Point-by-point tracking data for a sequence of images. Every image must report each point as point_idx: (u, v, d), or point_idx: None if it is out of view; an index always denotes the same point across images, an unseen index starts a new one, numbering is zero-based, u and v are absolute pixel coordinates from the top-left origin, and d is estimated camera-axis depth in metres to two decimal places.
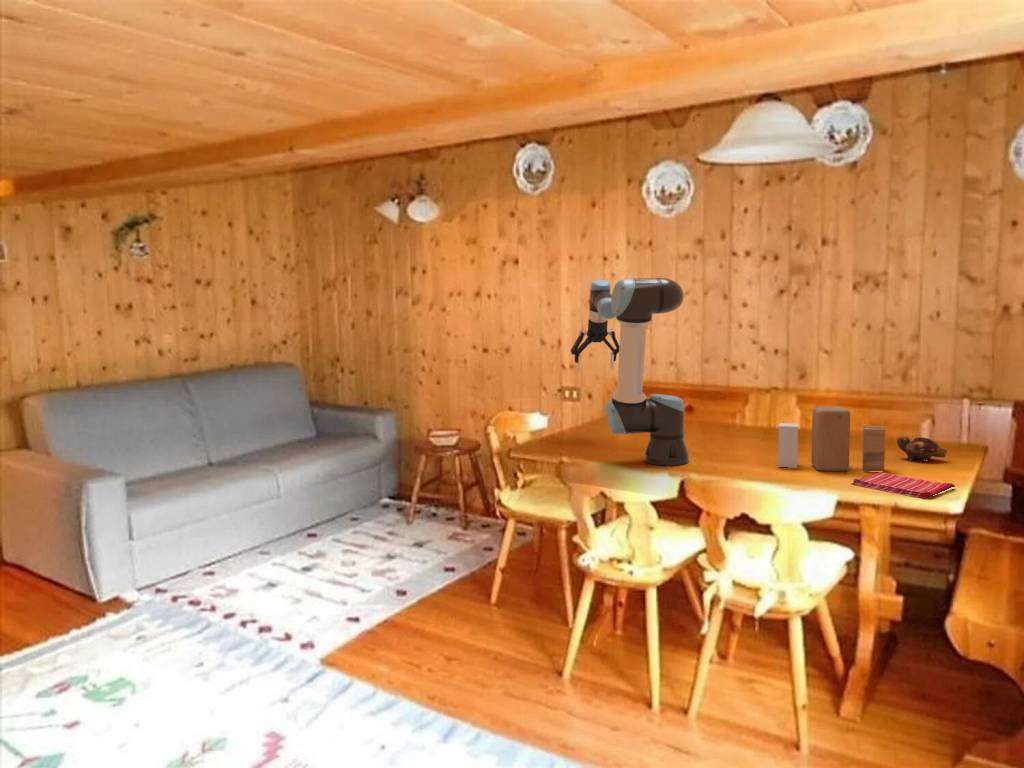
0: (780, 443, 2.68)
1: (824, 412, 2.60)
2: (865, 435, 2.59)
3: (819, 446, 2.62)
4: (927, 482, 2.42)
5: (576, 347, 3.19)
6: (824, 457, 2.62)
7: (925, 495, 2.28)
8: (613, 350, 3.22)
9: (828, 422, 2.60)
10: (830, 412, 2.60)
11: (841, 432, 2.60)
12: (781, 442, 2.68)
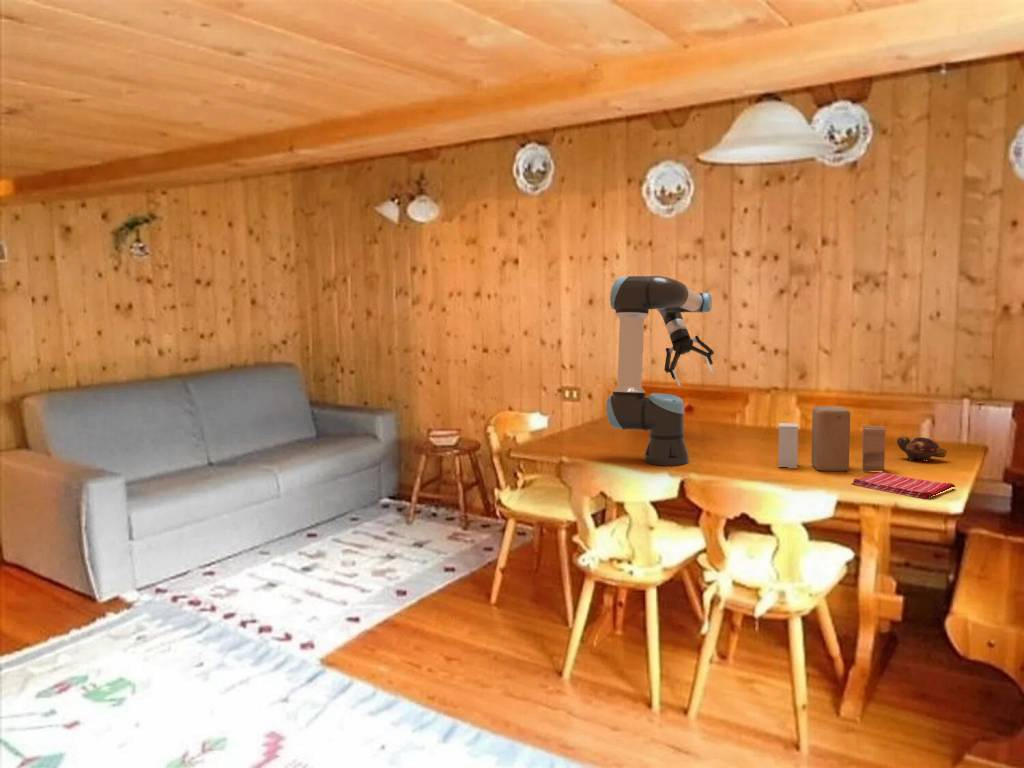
0: (780, 443, 2.68)
1: (824, 412, 2.60)
2: (865, 435, 2.59)
3: (819, 446, 2.62)
4: (927, 482, 2.42)
5: (666, 363, 3.24)
6: (824, 457, 2.62)
7: (925, 495, 2.28)
8: (704, 352, 3.18)
9: (828, 422, 2.60)
10: (830, 412, 2.60)
11: (841, 432, 2.60)
12: (781, 442, 2.68)
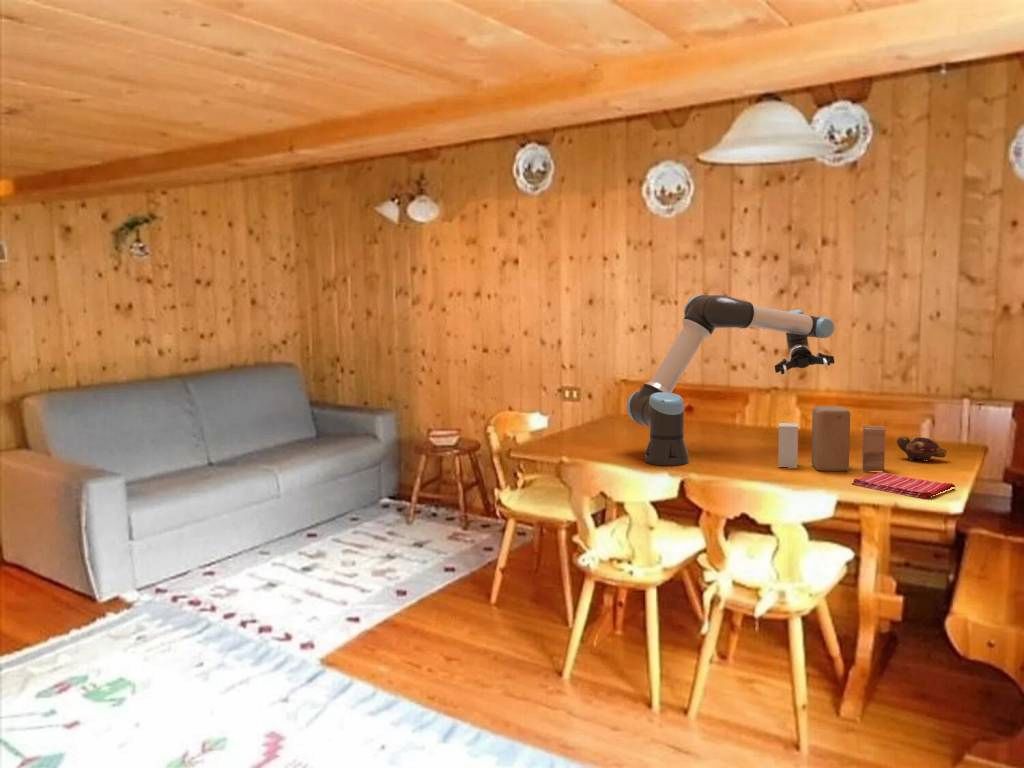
0: (780, 443, 2.68)
1: (824, 412, 2.60)
2: (865, 435, 2.59)
3: (819, 446, 2.62)
4: (927, 482, 2.42)
5: (779, 363, 2.95)
6: (824, 457, 2.62)
7: (925, 495, 2.28)
8: (823, 357, 2.89)
9: (828, 422, 2.60)
10: (830, 412, 2.60)
11: (841, 432, 2.60)
12: (781, 442, 2.68)
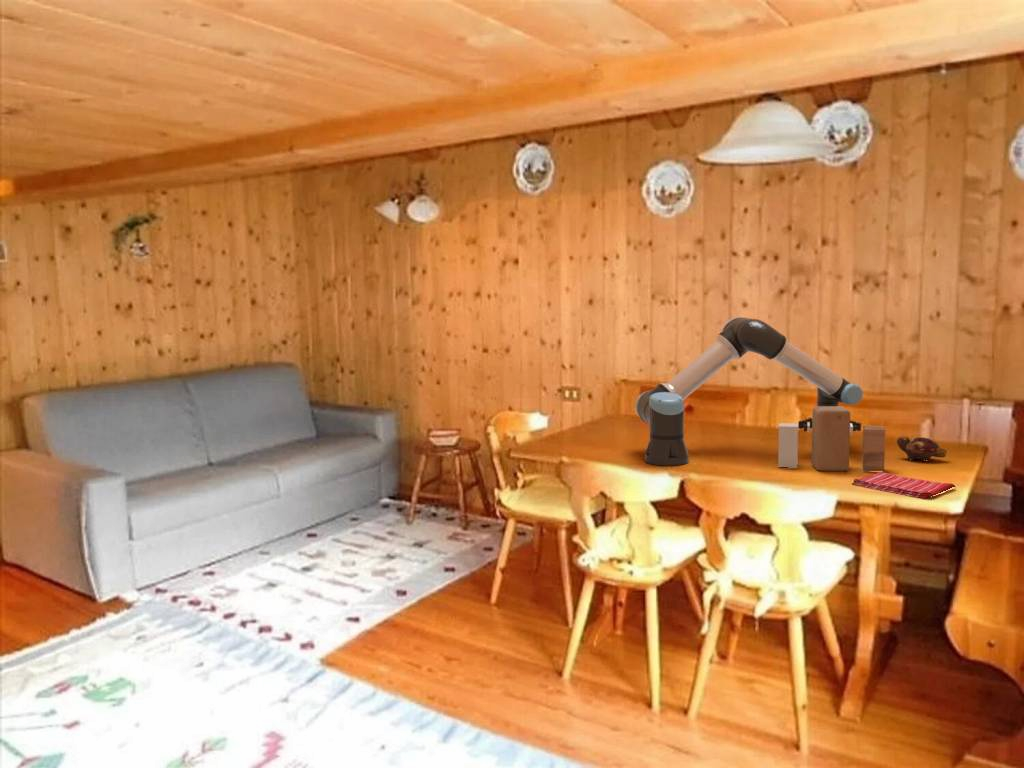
0: (780, 443, 2.68)
1: (824, 412, 2.60)
2: (865, 435, 2.59)
3: (819, 446, 2.62)
4: (927, 482, 2.41)
5: (804, 420, 2.86)
6: (824, 457, 2.62)
7: (925, 495, 2.28)
8: None
9: (828, 422, 2.60)
10: (830, 412, 2.60)
11: (841, 432, 2.60)
12: (781, 442, 2.68)
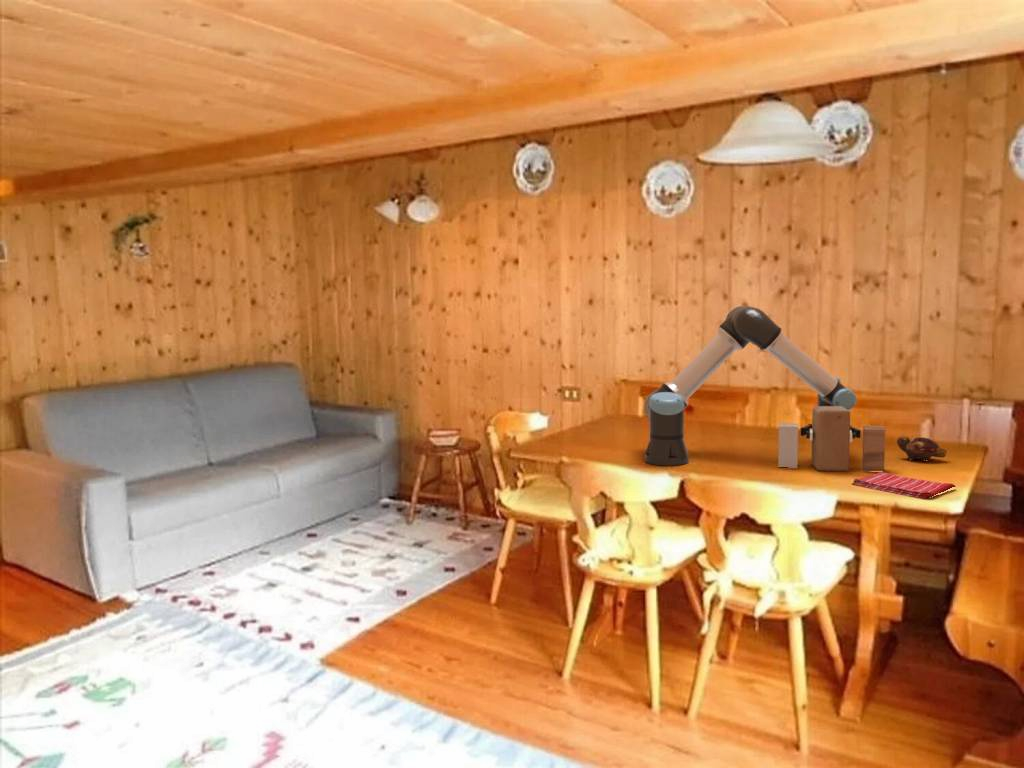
0: (780, 443, 2.68)
1: (824, 412, 2.60)
2: (865, 435, 2.59)
3: (819, 446, 2.62)
4: (928, 482, 2.41)
5: (805, 427, 2.74)
6: (824, 457, 2.62)
7: (925, 495, 2.28)
8: (850, 429, 2.68)
9: (828, 422, 2.60)
10: (830, 412, 2.60)
11: (841, 432, 2.60)
12: (781, 442, 2.68)
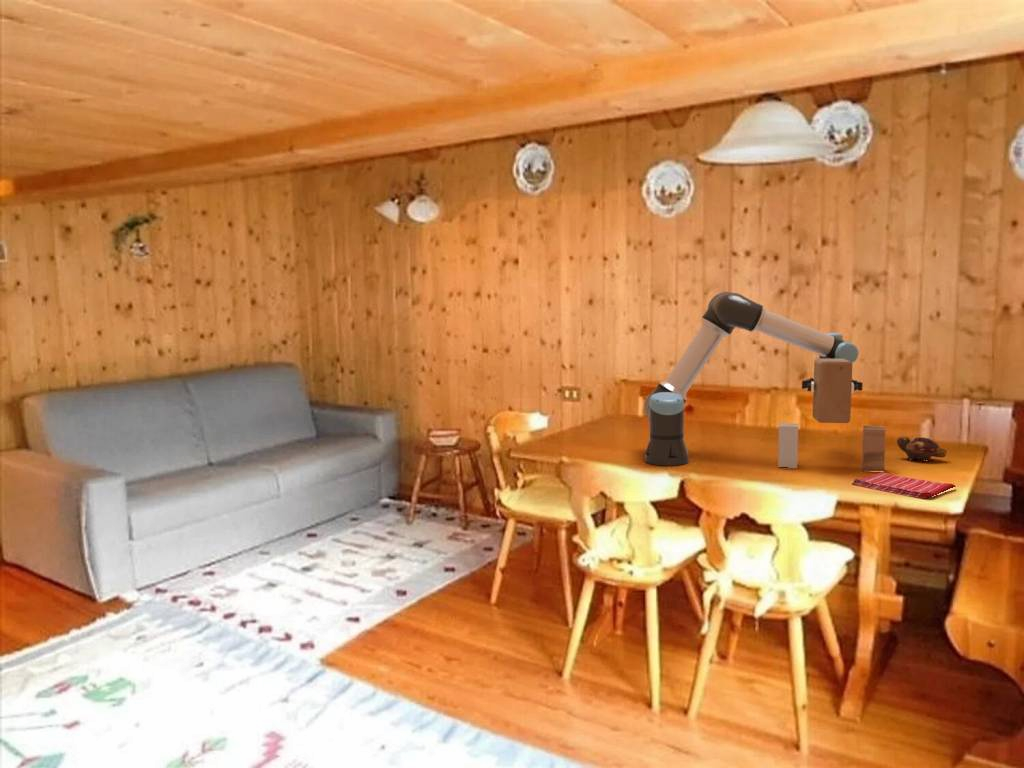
0: (780, 443, 2.68)
1: (826, 363, 2.58)
2: (865, 435, 2.59)
3: (820, 397, 2.60)
4: (928, 482, 2.41)
5: (806, 380, 2.72)
6: (826, 409, 2.60)
7: (925, 495, 2.28)
8: None
9: (830, 373, 2.58)
10: (832, 363, 2.58)
11: (842, 383, 2.58)
12: (781, 442, 2.68)
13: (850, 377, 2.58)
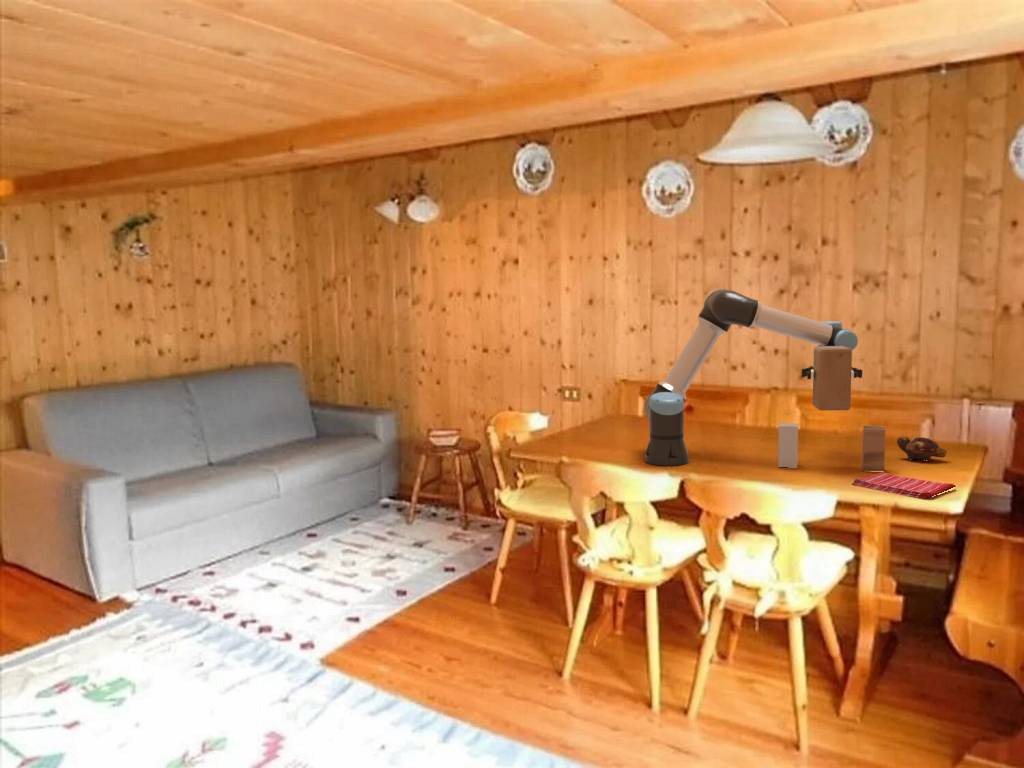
0: (780, 443, 2.68)
1: (825, 350, 2.58)
2: (865, 435, 2.59)
3: (820, 385, 2.59)
4: (928, 482, 2.41)
5: (806, 368, 2.71)
6: (826, 396, 2.59)
7: (925, 495, 2.28)
8: (851, 369, 2.65)
9: (829, 360, 2.58)
10: (831, 350, 2.57)
11: (842, 370, 2.58)
12: (781, 442, 2.68)
13: (850, 364, 2.57)
